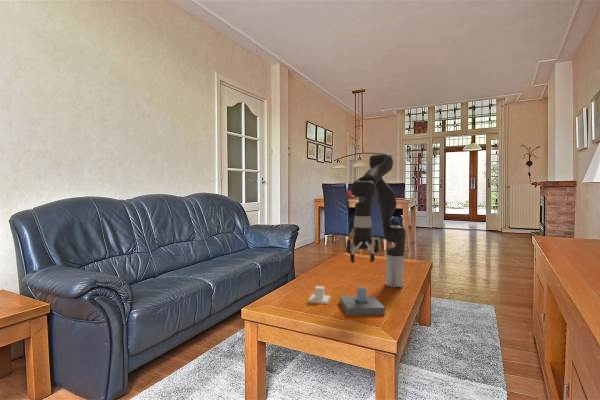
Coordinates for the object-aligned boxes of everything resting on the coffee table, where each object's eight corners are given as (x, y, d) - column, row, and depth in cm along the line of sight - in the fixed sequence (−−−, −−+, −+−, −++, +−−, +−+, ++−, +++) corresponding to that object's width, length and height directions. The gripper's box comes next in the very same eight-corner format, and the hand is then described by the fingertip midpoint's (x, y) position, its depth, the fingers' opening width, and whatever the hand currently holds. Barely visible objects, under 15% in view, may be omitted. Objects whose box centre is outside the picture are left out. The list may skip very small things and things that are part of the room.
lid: (312, 296, 163) (312, 283, 163) (330, 298, 161) (330, 285, 161) (308, 302, 155) (308, 289, 154) (327, 304, 153) (327, 290, 152)
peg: (355, 306, 150) (356, 287, 149) (364, 306, 150) (364, 286, 150) (358, 309, 146) (358, 289, 145) (367, 309, 146) (367, 289, 146)
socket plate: (339, 302, 155) (339, 296, 155) (372, 301, 156) (372, 295, 156) (348, 315, 139) (348, 308, 139) (384, 314, 141) (384, 307, 140)
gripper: (375, 225, 151) (374, 260, 151) (344, 225, 149) (344, 260, 150) (381, 227, 143) (380, 263, 144) (349, 227, 142) (348, 264, 143)
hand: (362, 262), depth 147 cm, fingers open, 8 cm apart
